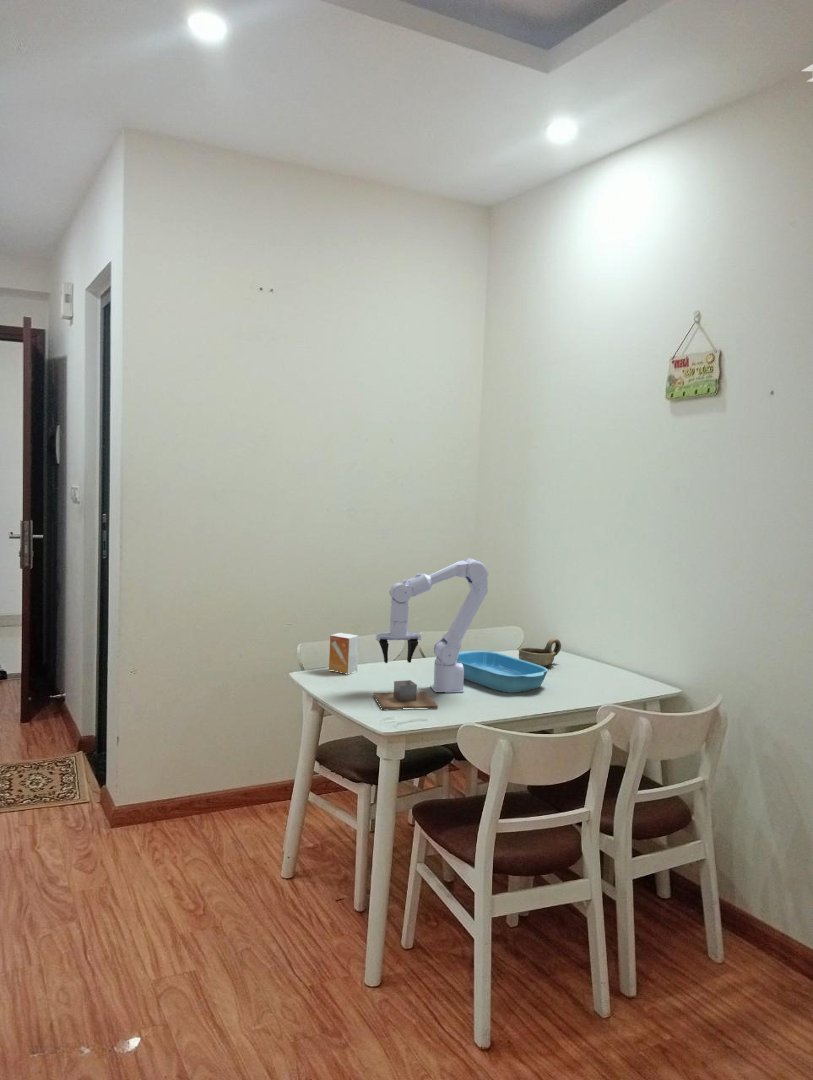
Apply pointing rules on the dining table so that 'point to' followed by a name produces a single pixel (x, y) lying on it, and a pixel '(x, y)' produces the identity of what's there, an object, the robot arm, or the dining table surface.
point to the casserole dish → (501, 671)
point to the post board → (391, 703)
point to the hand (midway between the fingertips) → (397, 662)
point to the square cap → (405, 690)
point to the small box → (343, 652)
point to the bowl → (541, 653)
